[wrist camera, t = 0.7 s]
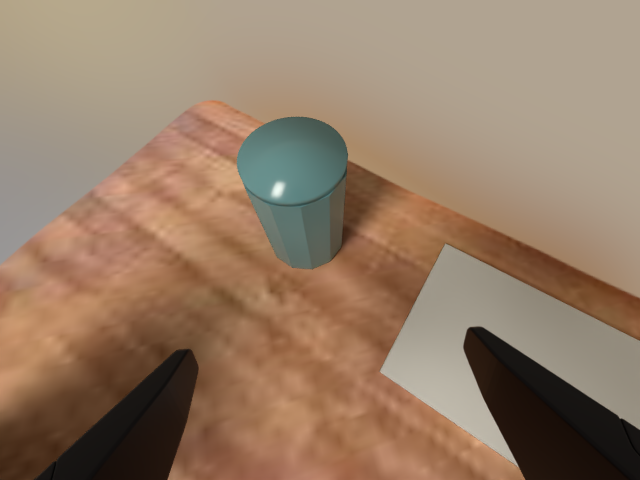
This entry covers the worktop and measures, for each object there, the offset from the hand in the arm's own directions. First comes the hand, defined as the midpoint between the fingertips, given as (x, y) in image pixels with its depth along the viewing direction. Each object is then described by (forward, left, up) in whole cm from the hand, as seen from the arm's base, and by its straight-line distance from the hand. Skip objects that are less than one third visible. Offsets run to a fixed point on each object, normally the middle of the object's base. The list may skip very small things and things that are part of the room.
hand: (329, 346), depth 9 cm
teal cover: (+11, +3, -14) cm, 19 cm away
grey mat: (+1, -16, -14) cm, 21 cm away
